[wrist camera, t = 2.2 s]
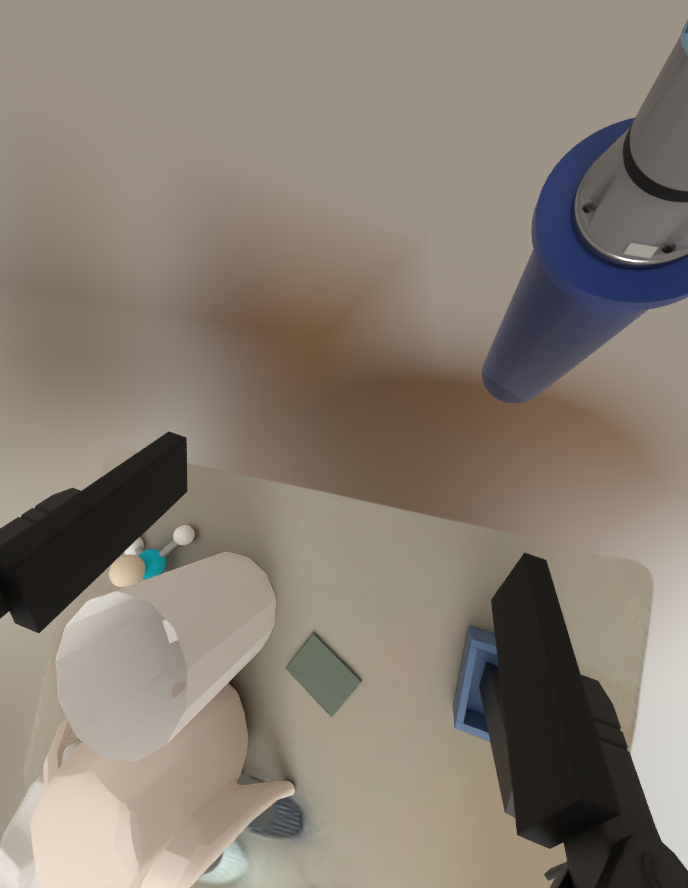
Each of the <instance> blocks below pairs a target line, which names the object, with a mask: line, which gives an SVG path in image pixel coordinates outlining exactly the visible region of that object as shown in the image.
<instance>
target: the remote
mask: <svg viewBox="0 0 688 888" xmlns="http://www.w3.org/2000/svg"><path fill="white" fill-rule="evenodd" d="M479 689H480V694H481V699H482V704H483V709H484V713H485V718H486V723H487V728H488V733H489V738H490V742H491V747H492V752H493V757H494V762H495V767H496V771H497V776H498V781H499V786H500V791H501V796H502V801H503V805H504V810H505V813H507V814H509V815H511V816H513V817H515V810H514V801H513V792H512V783H511V774H510V765H509V756H508V747H507V738H506V730H505V721H504V712H503V703H502V694H501V685H500V676H499V667H498V666H496V665H493V664H491V663H488V662H486V664H485V668H484V671H483V675H482V678H481V681H480V685H479Z"/></svg>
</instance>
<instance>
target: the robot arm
mask: <svg viewBox="0 0 688 888" xmlns="http://www.w3.org/2000/svg"><path fill="white" fill-rule="evenodd" d="M571 224H572V228H573V232H574V234H575V236H576V238H577V240H578V242H579V243H580V245H581V246H582V247H583V248H584V250H585V251H586V252H588V253H589V254H590V255H591V256H592V257H594V258H595V259H597V260H599V261H600V262H602V263H605V264H607V265H610V266H612V267H616V268H620V269H626V270H650V269H656V268H661V267H665V266H668V265H671V264H673V263H676V262H678V261H680V260H682V259H684V258H686V257H687V256H688V20H687V22H686V23H685V25H684V28H683V31H682V34H681V36H680V38H679V40H678V41H677V43H676V45H675V47H674V48H673V50H672V52H671V54H670V56H669V58H668V59H667V61H666V63H665V65H664V67H663V68H662V70H661V72H660V74H659V76H658V78H657V79H656V81H655V83H654V85H653V87H652V88H651V90H650V92H649V94H648V96H647V97H646V99H645V101H644V103H643V105H642V106H641V108H640V110H639V112H638V114H637V116H636V118H635V119H634V121H633V123H632V125H631V126H630V128H629V129H628V130H627V131H626V132H625V133H624V134H623V135H622V136H621V137H620V138H619V139H618V140H617V141H616V142H615V143H614V144H612V145H611V146H610V147H609V148H608V149H607V150H606V151H605V152H604V153H603V154H602V155H601V156H600V157H599V158H598V159H597V160H596V161H595V162H594V163H593V164H592V165H591V167H590V168H589V169H588V171H587V172H586V174H585V176H584V177H583V179H582V181H581V183H580V185H579V187H578V189H577V191H576V194H575V196H574V199H573V202H572V207H571ZM186 445H187V443H186V437H183V436H180V435H177V434H174V433H171V432H167V433H166V434H164V435H163V436H162V437H160V438H158V439H157V440H156V441H154V442H153V443H151V444H150V445H148V446H147V447H146V448H144V449H142V450H141V451H139V452H138V453H136V454H135V455H134V456H132V457H131V458H129V459H128V460H126V461H125V462H123V463H122V464H120V465H119V466H117V467H116V468H114V469H113V470H111V471H110V472H109V473H107V474H106V475H104V476H103V477H101V478H100V479H98V480H97V481H95V482H94V483H92V484H91V485H89V486H88V487H87V488H85V489H84V490H82V491H80V490H77V489H74V488H71V489H68V490H65V491H62V492H60V493H57V494H54V495H52V496H50V497H49V498H47V499H46V500H44V501H42V502H41V503H39V504H38V505H36V507H35V508H34V509H33V508H32V509H30V510H28V511H27V512H26V513H24V514H22V516H21V517H20V518H19V517H18V518H16V519H14V520H13V521H12V522H10V523H8V524H7V525H5V526H4V527H2V528H0V618H2V617H3V616H4V615H5V614H6V613H7V612H9V611H10V613H11V615H12V617H13V620H14V622H15V623H16V624H18V625H20V626H23V627H25V628H28V629H30V630H32V631H35V632H37V633H40V632H41V631H42V630H43V629H44V628H45V627H46V626H47V625H48V624H49V623H50V622H51V621H52V620H54V619H55V618H56V617H57V616H58V615H59V614H60V613H61V612H62V611H63V610H64V609H65V608H66V607H67V606H68V605H69V604H70V603H71V602H72V601H73V600H74V599H76V598H77V597H78V596H79V595H80V594H81V593H82V592H83V591H84V590H85V589H86V588H87V587H88V586H89V585H90V584H91V583H92V582H93V581H94V580H95V579H96V578H97V577H99V576H100V575H101V574H102V573H103V572H104V571H105V570H106V569H107V568H108V567H109V566H110V565H111V564H112V563H113V562H114V561H115V560H116V559H117V558H118V557H119V556H120V555H121V554H123V553H124V552H125V551H126V550H127V549H128V548H129V547H130V546H131V545H132V544H133V543H134V542H135V541H136V540H137V539H138V538H139V537H140V536H141V535H142V534H143V533H144V532H146V531H147V530H148V529H149V528H150V527H151V526H152V525H153V524H154V523H155V522H156V521H157V520H158V519H159V518H160V517H161V516H162V515H163V514H164V513H165V512H166V511H167V510H169V509H170V508H171V507H172V506H173V505H174V504H175V503H176V502H177V501H178V500H179V499H180V498H181V497H182V496H183V495H184V494H185V493H186V492H187V446H186ZM491 604H492V613H493V622H494V631H495V640H496V649H497V658H498V667H499V676H500V685H501V694H502V703H503V712H504V721H505V730H506V738H507V747H508V756H509V765H510V774H511V783H512V792H513V801H514V810H515V819H516V828H517V835H518V836H521V837H523V838H525V839H528V840H530V841H533V842H535V843H537V844H540V845H542V846H544V847H547V848H549V849H551V848H553V847H555V846H557V845H559V844H561V843H563V842H564V846H565V852H566V857H567V862H565V863H563V864H560V865H558V866H556V867H553V868H551V869H550V870H548V871H547V872H546V873H545V874H544V875H545V877H546V878H547V879H548V881H549V880H551V879H554V878H555V879H554V881H553V883H552V885H551V887H550V888H688V871H687V869H686V868H685V867H684V865H683V864H682V863H681V861H680V860H679V859H678V858H677V856H676V855H675V854H674V853H673V852H672V851H671V850H670V849H669V848H668V847H667V846H666V845H665V844H664V843H662V841H661V839H660V836H659V834H658V832H657V829H656V827H655V824H654V821H653V818H652V815H651V813H650V810H649V807H648V804H647V801H646V798H645V795H644V793H643V790H642V787H641V784H640V781H639V778H638V775H637V772H636V770H635V767H634V764H633V761H632V758H631V755H630V752H628V751H627V744H626V741H625V738H624V735H623V732H621V731H620V728H621V726H620V724H619V721H618V718H617V715H616V712H615V709H614V706H613V704H612V702H611V701H610V699H609V697H608V696H607V694H606V693H605V691H604V690H603V688H602V686H601V685H600V683H599V682H598V681H597V680H594V679H591V678H589V677H586V676H583V675H580V672H579V668H578V665H577V661H576V658H575V655H574V651H573V648H572V645H571V641H570V638H569V635H568V631H567V628H566V625H565V621H564V618H563V614H562V611H561V608H560V604H559V601H558V598H557V594H556V591H555V588H554V584H553V581H552V578H551V574H550V571H549V567H548V564H547V561H546V560H544V559H541V558H539V557H536V556H533V555H530V554H527V553H524V554H523V555H522V557H521V558H520V560H519V561H518V562H517V564H516V565H515V567H514V568H513V570H512V571H511V572H510V574H509V575H508V577H507V578H506V579H505V581H504V582H503V584H502V585H501V587H500V588H499V589H498V591H497V592H496V594H495V595H494V597H493V598H492V599H491Z"/></svg>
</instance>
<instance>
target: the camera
mask: <svg viewBox="0 0 688 888" xmlns="http://www.w3.org/2000/svg"><path fill="white" fill-rule="evenodd" d="M81 742H82V741H79V742H75V743H73V744H71V745H69V746H68V747H67V748H66V749H65V750H64V752H63V755H62V764H63V763H64V762H65V760H66V759H67V758H68V757H69V756H70V755H71V753H72V752H73V751H74V750H75V749H76V748H77V746H78V745H79V744H80V743H81ZM43 794H44V773H42V774H41V775H40V776H39V777H38V778H37V779H36V780H35V781H34V782H33V784H32V785H31V787H30V788H29V790H28V792H27V794H26V795H25V797H24V799H23V801H22V803H21V804H20V806H19V808H18V810H17V811H16V813H15V815H14V817H13V819H12V820H11V822H10V824H9V826H8V827H7V829H6V831H5V833H4V835H3V837H2V840H1V842H0V888H44V887H43V886H42V885H41V883H40V882H39V881H38V880H37V874H36V867H35V860H34V854H33V846H32V836H31V828H30V820H31V818H32V816H33V814H34V812H35V810H36V808H37V806H38V804H39V802H40V800H41V798H42V796H43Z"/></svg>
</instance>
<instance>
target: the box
mask: <svg viewBox="0 0 688 888" xmlns="http://www.w3.org/2000/svg"><path fill="white" fill-rule="evenodd" d="M486 662H488V663H491V664H493V665H496V666H498V658H497V649H496V640H495V634H494V633H491V632H488V631H485V630H481V629H478V628H475V627H471V626H469V627H468V632H467V637H466V643H465V648H464V653H463V658H462V663H461V669H460V674H459V679H458V684H457V689H456V694H455V700H454V705H453V714H454V727H455V728H456V729H459V730H461V731H464V732H467V733H469V734H472V735H475V736H477V737H480V738H483V739H485V740H488V741H490V738H489V733H488V728H487V723H486V718H485V713H484V709H483V704H482V699H481V694H480V689H479V685H480V681H481V678H482V675H483V671H484V668H485V664H486Z"/></svg>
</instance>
